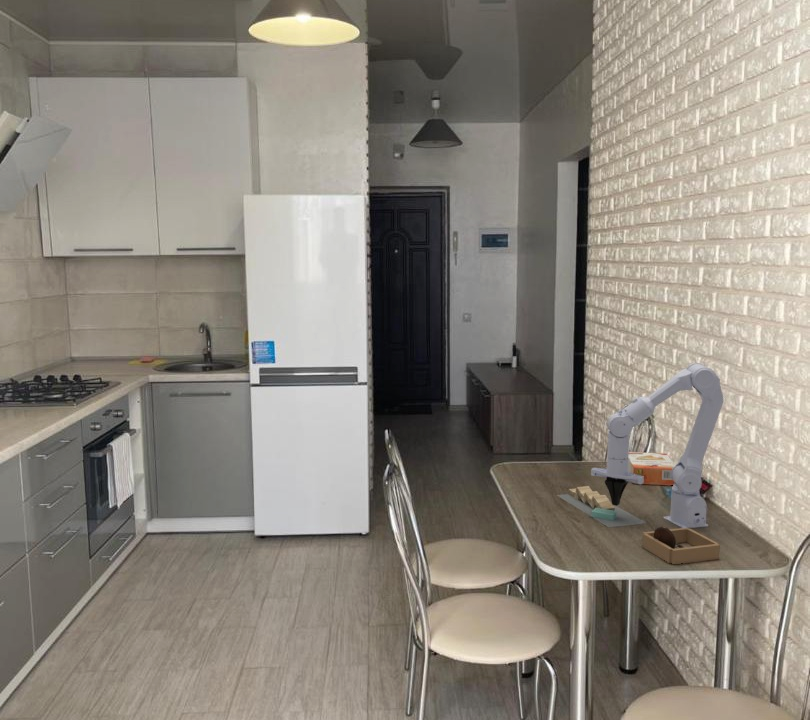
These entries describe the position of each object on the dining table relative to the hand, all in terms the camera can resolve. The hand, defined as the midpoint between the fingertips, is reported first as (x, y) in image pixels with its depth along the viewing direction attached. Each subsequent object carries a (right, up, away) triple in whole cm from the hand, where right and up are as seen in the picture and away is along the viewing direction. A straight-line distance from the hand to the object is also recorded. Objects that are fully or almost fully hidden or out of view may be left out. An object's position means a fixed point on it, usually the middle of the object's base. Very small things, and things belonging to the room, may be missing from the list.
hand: (615, 504), depth 220 cm
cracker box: (+22, +3, +33) cm, 39 cm away
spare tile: (0, -3, 0) cm, 3 cm away
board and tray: (+3, -5, -4) cm, 6 cm away
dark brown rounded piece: (+7, -8, -23) cm, 26 cm away
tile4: (-4, -1, +13) cm, 13 cm away
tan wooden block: (-2, -2, +8) cm, 9 cm away
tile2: (-1, -3, +4) cm, 5 cm away
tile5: (-5, -1, +17) cm, 18 cm away
